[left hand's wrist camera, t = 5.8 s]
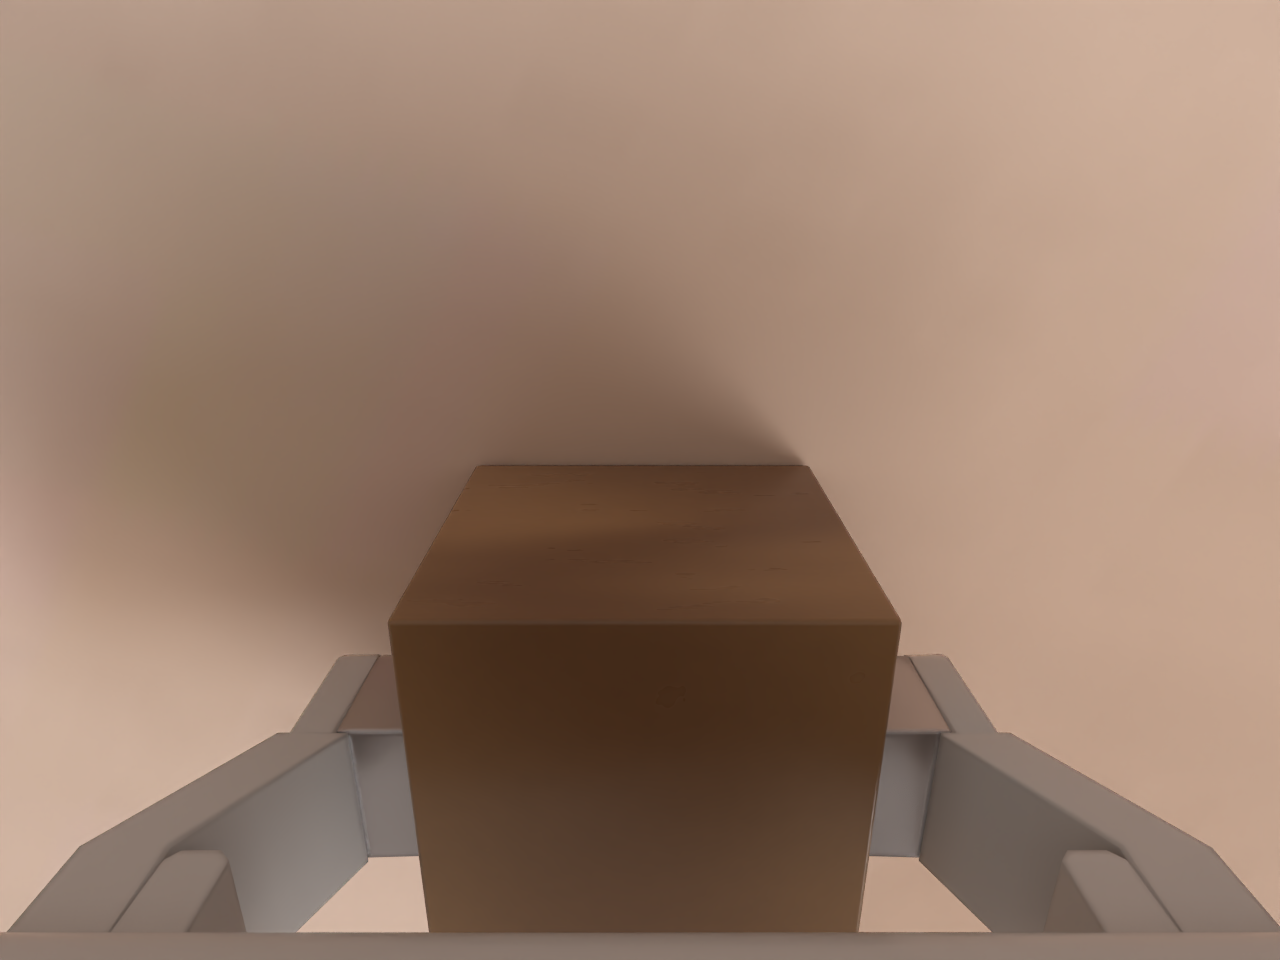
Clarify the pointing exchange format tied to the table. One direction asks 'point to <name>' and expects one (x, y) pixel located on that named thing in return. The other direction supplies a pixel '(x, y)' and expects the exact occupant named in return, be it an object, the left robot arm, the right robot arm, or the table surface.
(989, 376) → the table surface
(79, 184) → the table surface
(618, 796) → the block
